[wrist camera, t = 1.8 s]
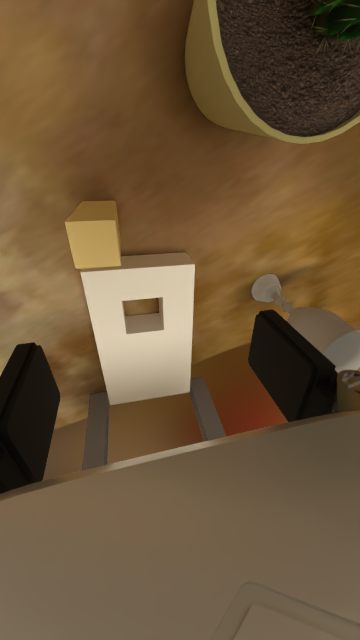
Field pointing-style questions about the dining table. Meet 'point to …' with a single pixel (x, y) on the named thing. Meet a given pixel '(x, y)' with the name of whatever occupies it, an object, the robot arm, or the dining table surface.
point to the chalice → (315, 326)
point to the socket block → (143, 325)
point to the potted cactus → (276, 66)
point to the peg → (94, 234)
